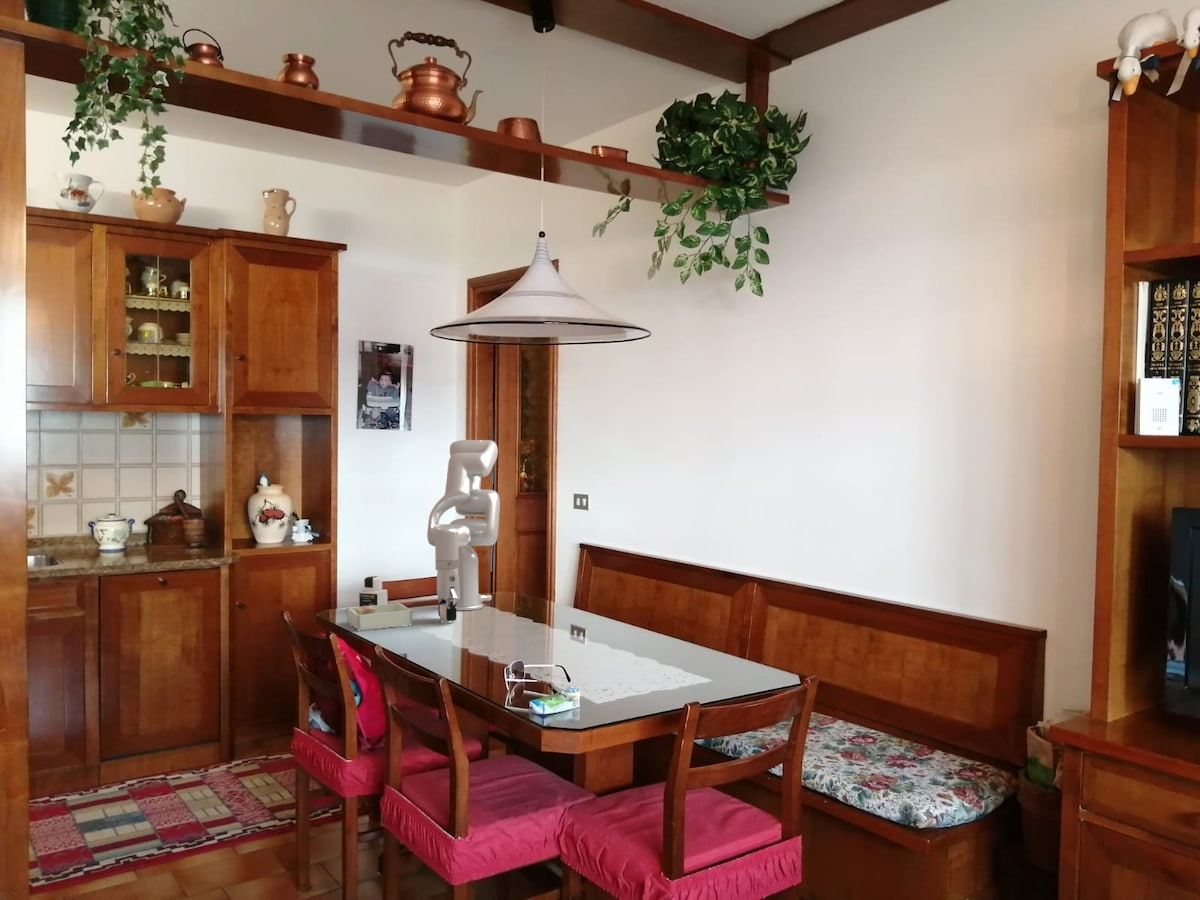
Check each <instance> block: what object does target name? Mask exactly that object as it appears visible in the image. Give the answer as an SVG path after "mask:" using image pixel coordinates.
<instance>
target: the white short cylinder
mask: <svg viewBox="0 0 1200 900" xmlns="http://www.w3.org/2000/svg"><path fill="white" fill-rule="evenodd" d="M447 608H448V607H447V603H445V604H440V616H439V622H440V621H443V622H449V621H447V611H446V609H447ZM452 621H455V622H456V620H452Z"/></svg>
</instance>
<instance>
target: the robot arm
mask: <svg viewBox="0 0 1200 900" xmlns="http://www.w3.org/2000/svg"><path fill="white" fill-rule="evenodd" d="M497 445H498V444H497V443H496V442H495V441H494V440H490V439H465V440H464V439H462V440H455V441H453V442H452V443H451V444H450V446H449V455H450V457H449V459H448V464H447V473H446V480H445V482H446V483H445V492H444V494H443V496H442V497H441V498H440V499H439V500H438V501H437V502H436V503H435V504H434V506H433V507H432V510H431V512H430V514H429V517H428V524H427V533H426V534H427V536H426V537H427V541H428V544H429V545H431V546H433V547H435V549H434V550H435V551H434V552H435V559H434V560H435V566H434V567H435V570H436V571H437V572H436V573H437V574H436V594H437V597H438V603H437V604H438V617H440V604H445V603H447V607H448V608H447V609H446V611H447V621H452V620H455V621H456V620H457V611H474V610H479V609H483V607H484V604H483V603H484V601H485V602H486V601H492V598H493V597H492V595H491V594H487V595H485V594H481V593H479V557H478V554H477V552H476V551H475V549H474V548H473V547H475V546H477V547H478V546H479V547H482V546H483V547H485V546H487V547H489V546H493V545H495V544H496V543H497V540H498V538H499V537H498V536H499V526H500V524H499V523H500V510H501V508H500V507H501V501H500V496H499V494H498V492H497V491H495V490H493V489H481V485H482V484H481V483H482V477H484V478H485V477H488V476H489V475H490V473H491V472H492V469H493V467H494V465H495V463H496V461H497V459H498V453H499V449H498V446H497ZM451 508H455V512H456V513H457V515H459V516H465V517H484V518H458V519H457V518H456V519H454V520H452V521H450V523H448V524H446V523H445V524H444V523H442V524H441V523H440V524H439V522H440V519H441V518H442V516H443V515H444V513H445V512H447V511H448V510H450V509H451Z"/></svg>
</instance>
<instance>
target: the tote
mask: <svg viewBox="0 0 1200 900" xmlns="http://www.w3.org/2000/svg"><path fill="white" fill-rule="evenodd" d="M359 607H360V606H353V607H347V608H346V609H347V610H346V611H347V613H346V615H347V617H346V618H347V619H346V621H347V622H348V623H349V624H350V625H352V626H353V627H354V628H356V629H357V630H360V631H359V632H364V631H363V630H368V631H374V629H377V630H383V629H382V628H386V629H389V628H388V627H394V626H402V625H410V624H412V625H413V610H412V609H411V608H409V607H407V606H405V605H404V604H402V603H400V602H397V603H388V604H384V605H373V606H372V607H373V608H375V614H366V615H359V614H357V613H356V608H359ZM363 607H369V606H363ZM348 623H347V624H348ZM349 624H348V625H349ZM350 625H349V626H350ZM352 626H351V627H352ZM353 627H352V628H353ZM354 628H353V629H354ZM357 630H356V631H357Z"/></svg>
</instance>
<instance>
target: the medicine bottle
mask: <svg viewBox="0 0 1200 900" xmlns="http://www.w3.org/2000/svg"><path fill="white" fill-rule="evenodd" d="M363 584H364V590H363V591H359V593H358V594H359V595H358V596H359V598H358V599H359V600H358V601H359V603H358V604H359V607H363V606H373V605H384V604H389V603H388V590H387V589H385V588H384V589H383V578H382V577H381V576H373V575H371V576H367V577H365V578H364V583H363Z"/></svg>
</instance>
